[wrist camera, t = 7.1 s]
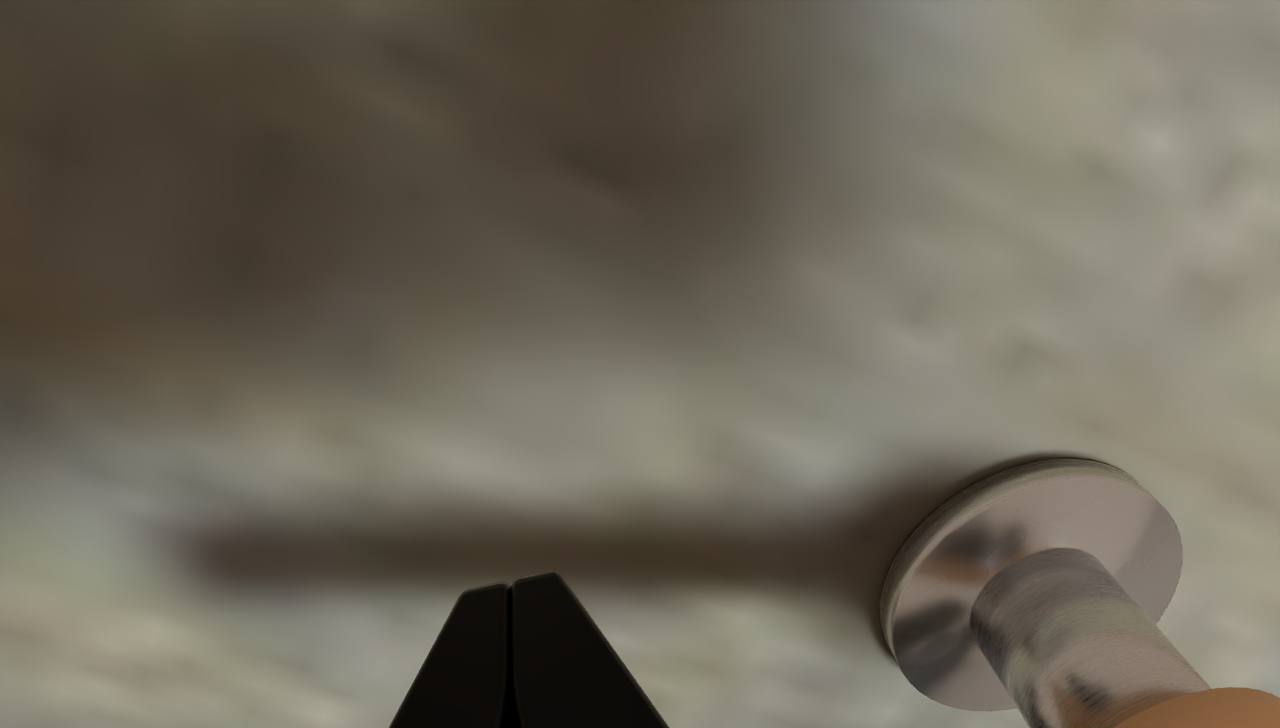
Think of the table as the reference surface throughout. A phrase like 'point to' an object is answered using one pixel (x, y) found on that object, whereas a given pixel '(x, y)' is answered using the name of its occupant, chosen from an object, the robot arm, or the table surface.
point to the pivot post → (1041, 598)
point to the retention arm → (1212, 711)
